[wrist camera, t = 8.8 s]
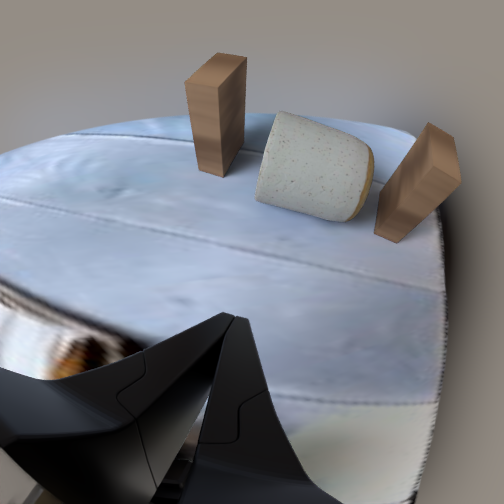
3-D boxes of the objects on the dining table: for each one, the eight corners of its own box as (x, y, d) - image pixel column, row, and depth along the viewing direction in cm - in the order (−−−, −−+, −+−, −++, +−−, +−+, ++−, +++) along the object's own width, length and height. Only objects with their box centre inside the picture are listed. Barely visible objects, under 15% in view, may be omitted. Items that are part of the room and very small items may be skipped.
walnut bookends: (396, 243, 23) (461, 182, 14) (198, 170, 25) (184, 82, 16) (400, 201, 25) (453, 137, 15) (221, 135, 27) (217, 52, 17)
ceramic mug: (344, 241, 23) (383, 190, 16) (250, 218, 23) (256, 155, 16) (349, 154, 27) (374, 100, 20) (275, 135, 27) (284, 75, 20)
